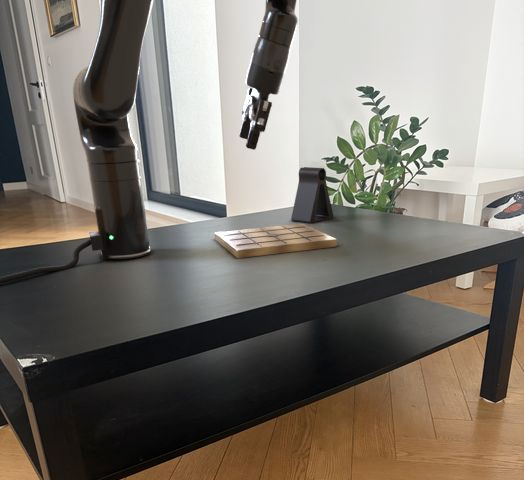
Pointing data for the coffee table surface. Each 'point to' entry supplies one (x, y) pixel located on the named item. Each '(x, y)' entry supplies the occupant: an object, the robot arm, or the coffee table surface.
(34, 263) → the coffee table surface
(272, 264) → the coffee table surface
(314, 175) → the phone stand
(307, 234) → the board
